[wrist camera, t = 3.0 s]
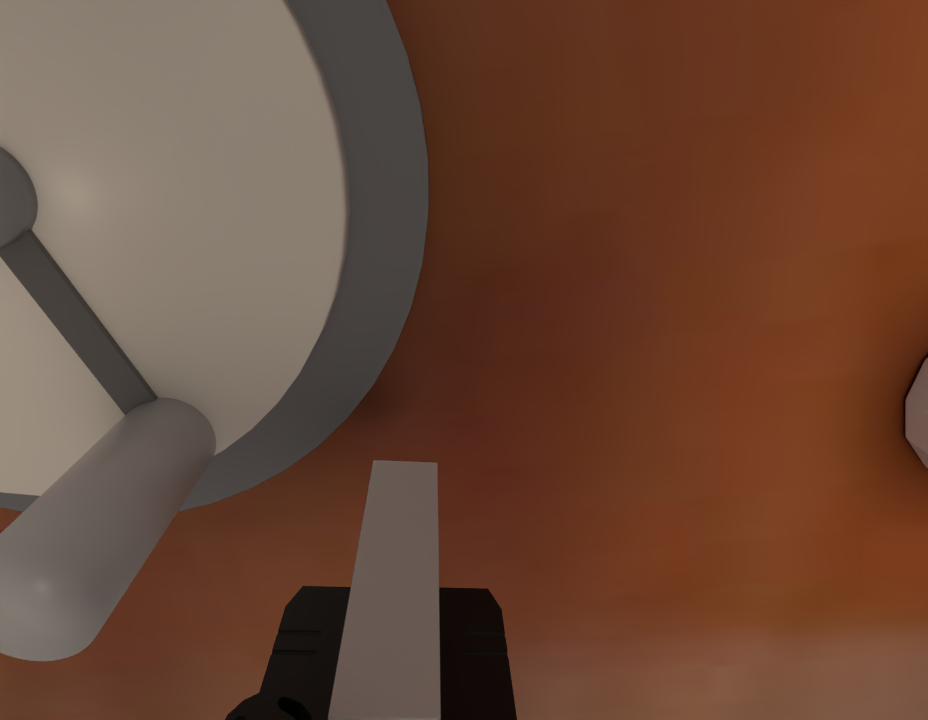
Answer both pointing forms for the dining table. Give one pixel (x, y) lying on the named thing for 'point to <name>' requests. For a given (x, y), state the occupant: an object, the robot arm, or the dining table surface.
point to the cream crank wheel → (147, 275)
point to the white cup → (918, 414)
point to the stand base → (368, 254)
